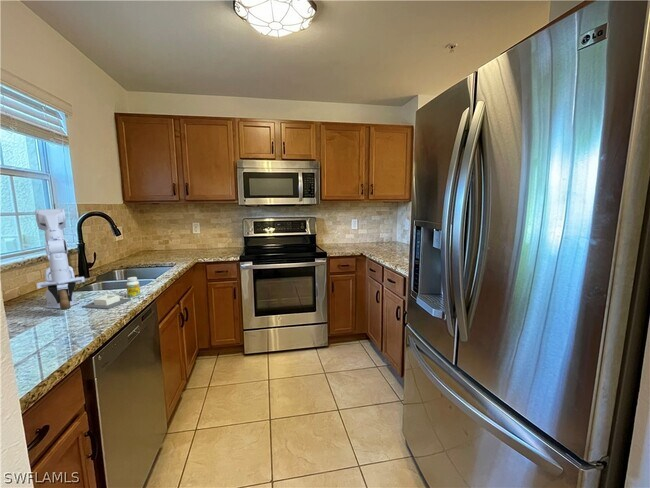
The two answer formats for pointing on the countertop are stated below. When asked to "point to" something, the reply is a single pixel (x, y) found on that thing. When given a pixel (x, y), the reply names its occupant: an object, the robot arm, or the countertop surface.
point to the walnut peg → (64, 299)
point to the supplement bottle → (133, 287)
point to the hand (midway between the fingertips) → (64, 301)
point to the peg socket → (106, 302)
